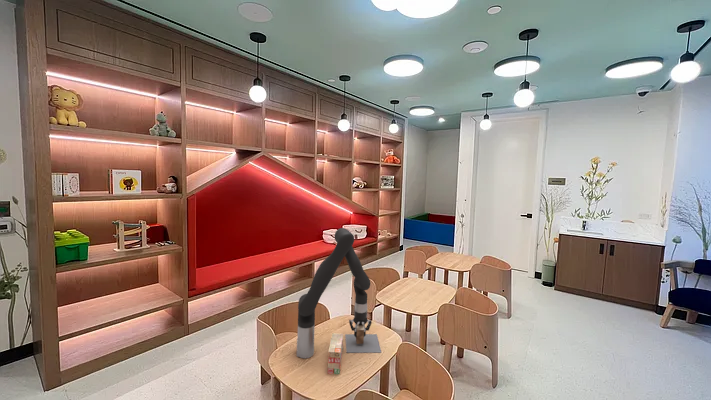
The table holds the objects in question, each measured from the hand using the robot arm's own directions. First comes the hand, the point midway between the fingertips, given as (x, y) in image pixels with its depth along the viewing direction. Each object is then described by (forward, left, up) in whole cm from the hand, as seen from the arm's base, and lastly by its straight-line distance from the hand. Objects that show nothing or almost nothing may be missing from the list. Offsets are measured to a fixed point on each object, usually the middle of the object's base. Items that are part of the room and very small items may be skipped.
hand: (359, 336), depth 173 cm
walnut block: (0, 0, -2) cm, 2 cm away
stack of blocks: (-14, -15, -5) cm, 21 cm away
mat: (+2, 0, -4) cm, 5 cm away
